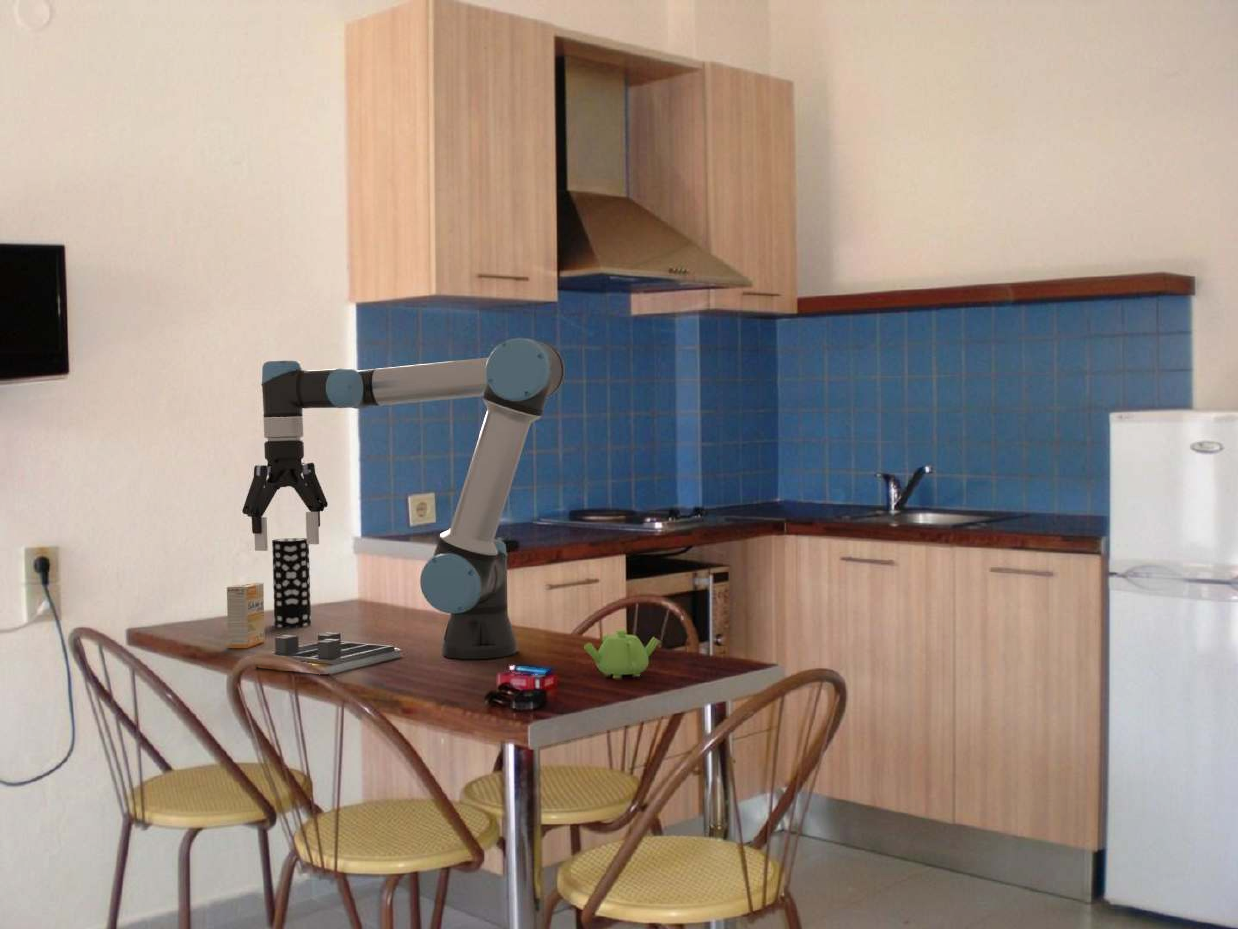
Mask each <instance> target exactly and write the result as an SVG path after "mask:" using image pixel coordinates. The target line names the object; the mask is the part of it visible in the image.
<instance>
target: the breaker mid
mask: <svg viewBox="0 0 1238 929" xmlns="http://www.w3.org/2000/svg"><path fill="white" fill-rule="evenodd" d="M341 637H342V636H341V633H340V632H332V631H331V632H324V633H320V634H317V641H322V640H324V639H339V640H342V638H341Z"/></svg>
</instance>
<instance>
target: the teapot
mask: <svg viewBox="0 0 1238 929" xmlns="http://www.w3.org/2000/svg"><path fill="white" fill-rule="evenodd" d="M627 633H628V631H627V630H625V629H618V630H616V634H613V635H612V634H611V635H604V636H603V637H602V638H601V640H602V643H601V645H600V647H599V649H598V650H597V649H596V648H595V646H594V645H593V644H592V642H587V643H585V645H584V646H583V649H584V650H585V651H586V652H587V653H588V655H589V656H590V657H591V658H592V659H593V660H594V662H595V665H596V667H597V669H598V670H599V671H600V672H601V673H602V674H603V675H604V674H605V675H611V674H613V675H612V678H620V677H621V678H622V676H625V675H631V676H632V675H633V676H640V675H641V673H643V672H644V671H645V670H646V669H647V668H648V666H649V664H650V663H649V657H650V656H651V654H652V653H653V652H654V650H655V649H656V648H657V646H658V645H659V643H660V642H661V641H660V640H659V639H658V638H656V637H654V636H652V638H651V639H650V641H649V642H648V643H647V645H646V646H644V645H643V643H642V642H641V640H640V638H639V637H638V636H637V635H634V634H627ZM633 676H632V677H633Z"/></svg>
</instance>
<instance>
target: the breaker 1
mask: <svg viewBox="0 0 1238 929" xmlns="http://www.w3.org/2000/svg"><path fill="white" fill-rule="evenodd" d="M274 640H275V641H274V643H275V645H274V646H275V651H276V654H280V655H292V654H296V653H299V646H300V645H299V636H298V635H296V634H295V635H293V634H287V635H286V634H285V635H284V634H283V635H281V636H277V637H274Z"/></svg>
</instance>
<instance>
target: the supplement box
mask: <svg viewBox="0 0 1238 929" xmlns="http://www.w3.org/2000/svg"><path fill="white" fill-rule="evenodd" d="M264 587H265V586H264V582H244V583H240V584H236V585H230V586H227V587H226V606H227V608H226V610H227V648H229V649H248V648H251V647H255V646H257V645H259V644H263V643H265V606H264V604H265V602H264V601H265V599H264V598H265V596H264V594H265V592H264V591H265V590H264Z"/></svg>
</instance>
